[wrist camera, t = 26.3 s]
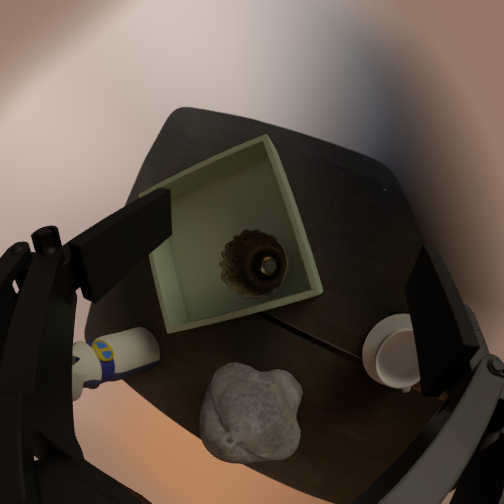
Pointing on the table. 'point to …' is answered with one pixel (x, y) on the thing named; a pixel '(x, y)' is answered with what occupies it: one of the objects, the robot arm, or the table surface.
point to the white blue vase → (112, 358)
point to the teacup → (392, 353)
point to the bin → (228, 236)
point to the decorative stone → (250, 414)
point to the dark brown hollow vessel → (253, 264)
